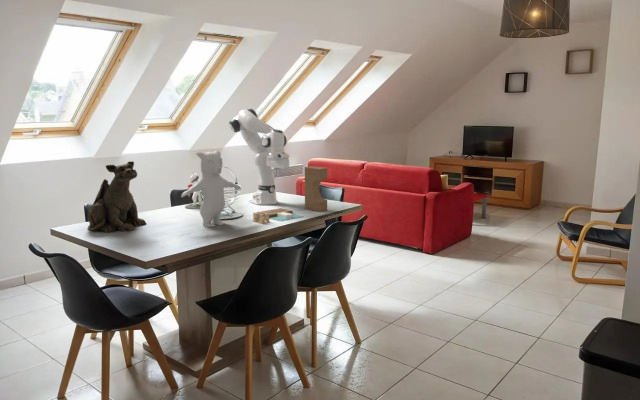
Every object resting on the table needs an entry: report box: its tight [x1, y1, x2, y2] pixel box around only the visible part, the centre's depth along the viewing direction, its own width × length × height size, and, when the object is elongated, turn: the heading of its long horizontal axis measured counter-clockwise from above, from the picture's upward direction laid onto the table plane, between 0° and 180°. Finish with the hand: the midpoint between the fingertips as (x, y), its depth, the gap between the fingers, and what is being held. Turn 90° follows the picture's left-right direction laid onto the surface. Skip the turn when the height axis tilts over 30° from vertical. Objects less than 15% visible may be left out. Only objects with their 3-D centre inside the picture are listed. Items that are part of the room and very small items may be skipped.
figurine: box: [184, 172, 203, 210], centre depth 368 cm, size 17×17×25 cm
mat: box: [269, 213, 305, 222], centre depth 334 cm, size 12×20×1 cm, turn 133°
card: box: [277, 212, 294, 218], centre depth 335 cm, size 9×6×2 cm, turn 44°
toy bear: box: [180, 150, 242, 228], centre depth 309 cm, size 42×17×45 cm, turn 135°
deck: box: [255, 208, 294, 218], centre depth 343 cm, size 13×22×2 cm, turn 133°
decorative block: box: [304, 165, 328, 213], centre depth 358 cm, size 15×8×30 cm, turn 48°
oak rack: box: [252, 211, 271, 225], centre depth 321 cm, size 10×6×6 cm, turn 43°
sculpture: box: [87, 161, 147, 233], centre depth 301 cm, size 31×36×40 cm
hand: (277, 174), depth 343 cm, fingers closed
